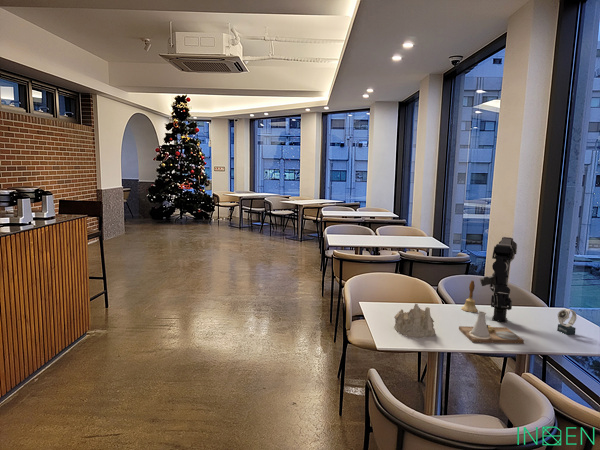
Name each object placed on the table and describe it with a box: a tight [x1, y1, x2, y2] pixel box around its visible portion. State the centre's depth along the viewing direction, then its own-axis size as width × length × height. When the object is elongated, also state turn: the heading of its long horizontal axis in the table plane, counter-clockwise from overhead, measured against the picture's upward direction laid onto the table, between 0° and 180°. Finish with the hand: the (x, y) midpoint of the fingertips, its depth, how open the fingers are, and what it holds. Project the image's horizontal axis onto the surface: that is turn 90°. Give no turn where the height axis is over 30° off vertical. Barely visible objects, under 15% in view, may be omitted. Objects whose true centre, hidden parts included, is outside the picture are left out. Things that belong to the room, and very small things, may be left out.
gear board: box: [458, 324, 525, 345], centre depth 186 cm, size 15×22×4 cm
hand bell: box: [461, 280, 479, 313], centre depth 222 cm, size 8×8×16 cm
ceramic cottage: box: [393, 303, 436, 339], centre depth 190 cm, size 16×16×15 cm
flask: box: [471, 310, 490, 337], centre depth 183 cm, size 7×7×10 cm
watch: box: [556, 308, 578, 336], centre depth 193 cm, size 6×8×11 cm
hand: (497, 305), depth 193 cm, fingers open, 9 cm apart
